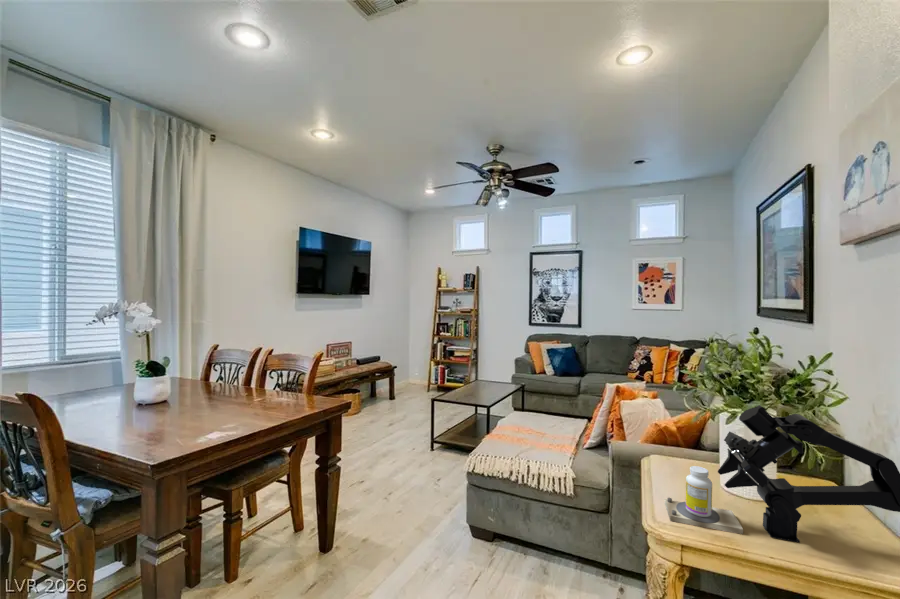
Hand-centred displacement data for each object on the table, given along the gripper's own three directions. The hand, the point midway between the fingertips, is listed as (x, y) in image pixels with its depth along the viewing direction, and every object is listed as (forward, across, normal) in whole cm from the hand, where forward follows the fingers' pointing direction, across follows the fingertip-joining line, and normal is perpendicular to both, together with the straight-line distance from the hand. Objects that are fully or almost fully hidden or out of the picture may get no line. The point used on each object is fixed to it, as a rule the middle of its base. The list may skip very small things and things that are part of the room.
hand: (722, 479), depth 116 cm
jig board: (+12, 0, +5) cm, 14 cm away
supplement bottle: (+12, 0, +4) cm, 12 cm away
